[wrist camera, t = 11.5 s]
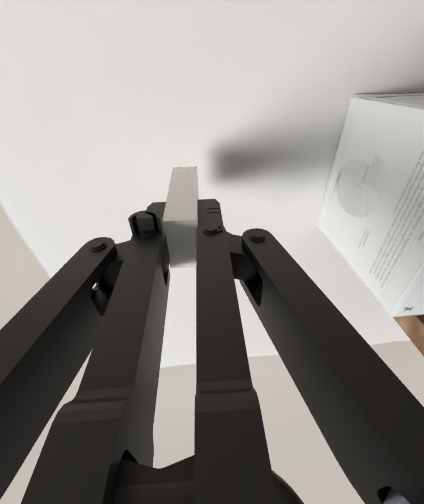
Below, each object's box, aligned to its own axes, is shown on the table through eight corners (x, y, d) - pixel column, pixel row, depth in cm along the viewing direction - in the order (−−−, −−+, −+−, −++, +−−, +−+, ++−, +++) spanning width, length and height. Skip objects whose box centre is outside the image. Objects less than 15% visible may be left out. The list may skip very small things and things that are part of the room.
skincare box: (382, 223, 23) (489, 313, 15) (314, 226, 23) (384, 320, 14) (444, 89, 17) (695, 115, 8) (351, 92, 16) (512, 122, 8)
